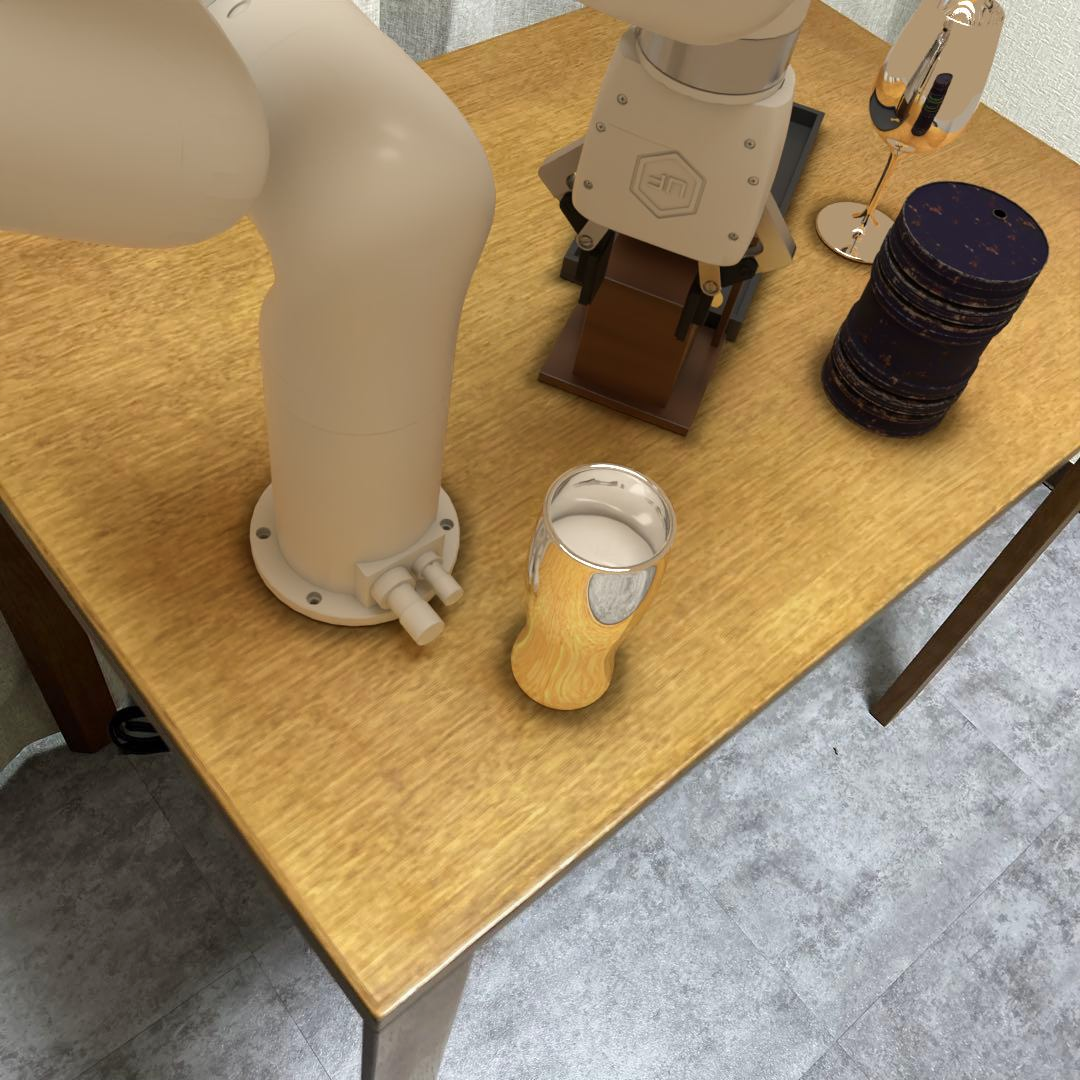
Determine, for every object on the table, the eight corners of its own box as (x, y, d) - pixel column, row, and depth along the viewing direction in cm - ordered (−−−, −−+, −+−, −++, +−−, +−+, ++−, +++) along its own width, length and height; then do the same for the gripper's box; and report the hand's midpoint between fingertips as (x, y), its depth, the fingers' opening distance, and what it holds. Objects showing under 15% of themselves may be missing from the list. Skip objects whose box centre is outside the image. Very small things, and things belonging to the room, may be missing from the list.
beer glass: (609, 731, 63) (671, 591, 51) (491, 701, 63) (525, 554, 51) (628, 629, 67) (689, 477, 55) (516, 601, 67) (554, 443, 55)
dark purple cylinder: (896, 461, 79) (996, 305, 66) (793, 376, 82) (870, 213, 70) (973, 400, 83) (1079, 244, 71) (872, 322, 87) (957, 161, 75)
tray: (734, 342, 83) (742, 322, 82) (559, 277, 85) (563, 256, 83) (817, 132, 101) (825, 112, 99) (671, 80, 102) (676, 60, 100)
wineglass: (899, 212, 95) (1012, -14, 79) (908, 273, 91) (1030, 46, 75) (811, 196, 95) (907, -35, 79) (815, 256, 90) (918, 24, 74)
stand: (686, 437, 77) (730, 321, 68) (537, 380, 78) (562, 259, 69) (724, 341, 83) (770, 224, 74) (586, 289, 84) (614, 168, 75)
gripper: (525, 11, 52) (486, 298, 67) (873, 131, 50) (755, 398, 65) (577, -57, 56) (530, 226, 71) (900, 52, 55) (783, 319, 69)
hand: (638, 306), depth 68 cm, fingers open, 5 cm apart
